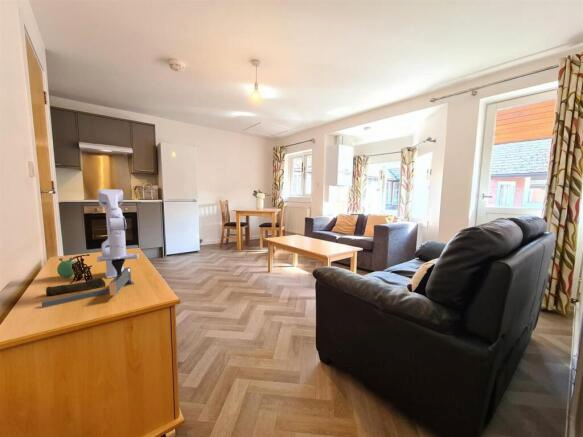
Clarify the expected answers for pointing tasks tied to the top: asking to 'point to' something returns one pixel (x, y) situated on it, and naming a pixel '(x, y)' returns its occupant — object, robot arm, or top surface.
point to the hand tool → (76, 287)
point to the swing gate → (120, 281)
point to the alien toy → (65, 268)
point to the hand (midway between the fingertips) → (119, 276)
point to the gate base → (129, 284)
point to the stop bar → (75, 297)
